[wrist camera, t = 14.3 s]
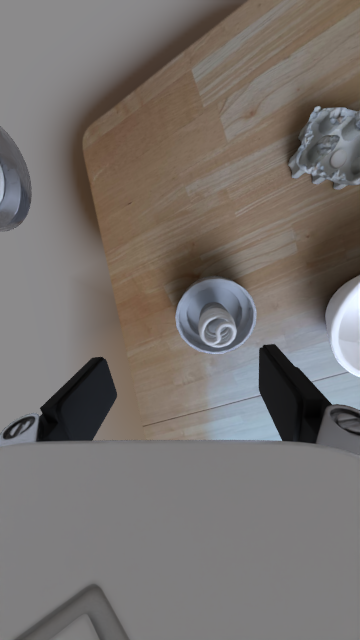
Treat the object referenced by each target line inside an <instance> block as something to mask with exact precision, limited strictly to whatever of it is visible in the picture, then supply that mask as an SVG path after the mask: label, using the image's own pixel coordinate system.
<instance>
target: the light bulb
mask: <svg viewBox="0 0 360 640" xmlns="http://www.w3.org/2000/svg"><path fill="white" fill-rule="evenodd" d="M226 327H227V328H226ZM225 328H226V329H225ZM224 329H225V330H224ZM198 330H199V335H200V338H201V339H202V341H203V342H205V343H206V344H207V345H210V346H212V347H218V348H219V347H224V346H227V345H229V344H230V343H231V342H232V341H233V340H234V339H235V337H236V332H237V330H236V325H235V322H234V319H233V318H232V316H231V315H230V314H229V312H228V311H227V309H226V308H225V307H224V306H223V305H222V304H220V303H217V302H211V303H208V304H206V305H205V306H204V307H203V308H202V309H201V312H200V316H199V324H198ZM223 330H224V331H223ZM221 331H223V332H221Z"/></svg>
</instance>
